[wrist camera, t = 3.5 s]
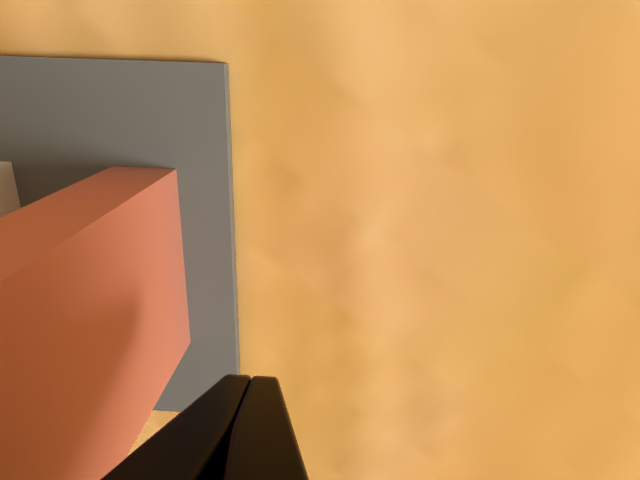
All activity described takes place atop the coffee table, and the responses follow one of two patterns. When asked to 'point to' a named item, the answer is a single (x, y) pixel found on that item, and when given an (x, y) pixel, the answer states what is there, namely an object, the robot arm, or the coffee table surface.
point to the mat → (140, 151)
